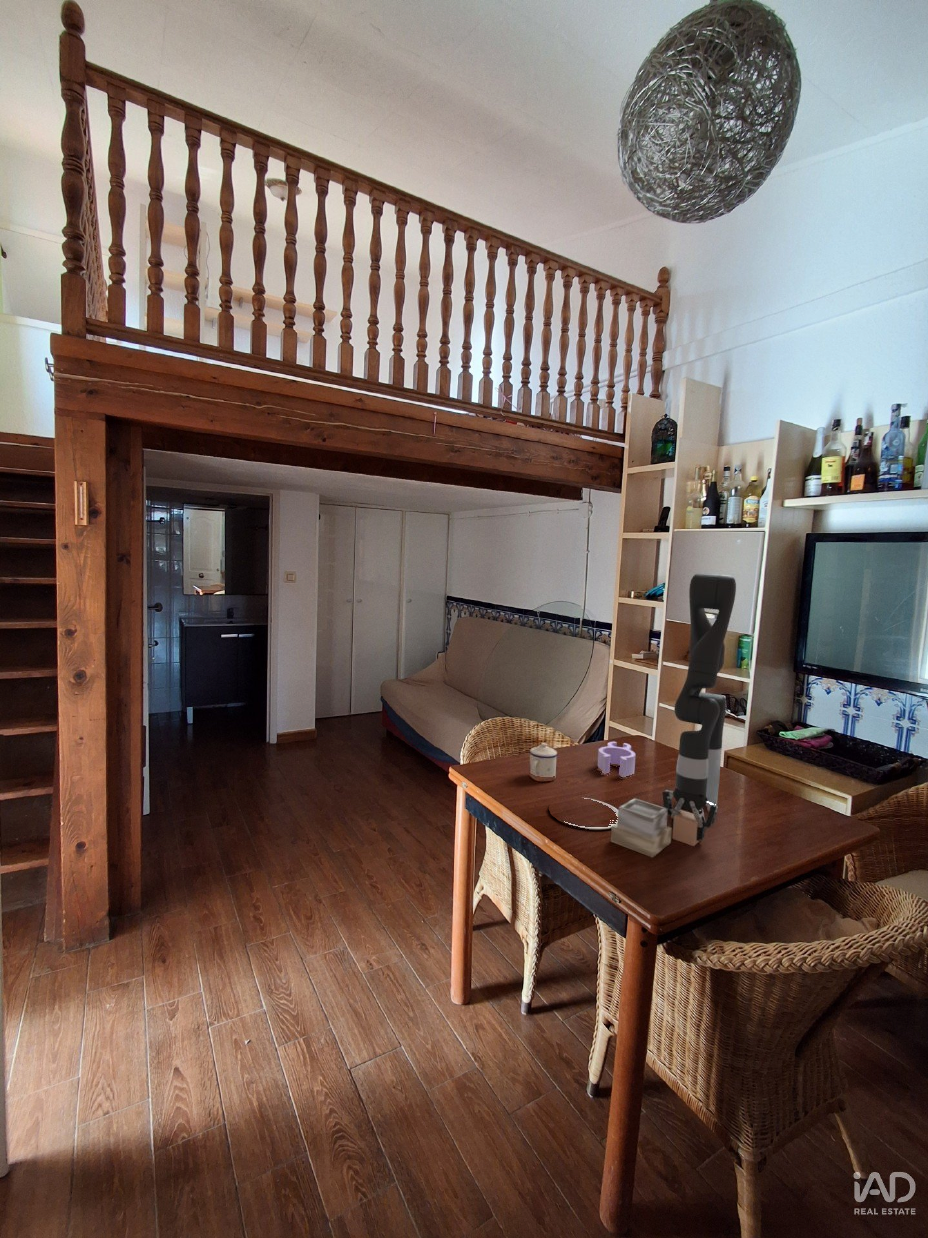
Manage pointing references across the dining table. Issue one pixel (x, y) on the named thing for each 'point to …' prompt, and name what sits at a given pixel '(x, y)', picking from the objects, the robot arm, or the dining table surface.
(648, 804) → the stepped translucent block
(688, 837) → the top block
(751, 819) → the dining table surface
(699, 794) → the robot arm
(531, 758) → the teacup with lid
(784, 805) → the dining table surface
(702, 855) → the dining table surface
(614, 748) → the clip
